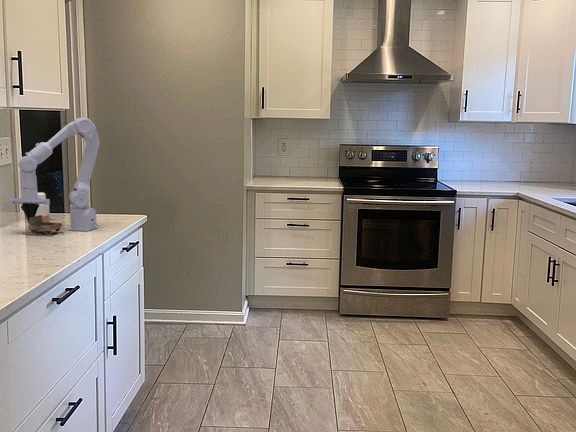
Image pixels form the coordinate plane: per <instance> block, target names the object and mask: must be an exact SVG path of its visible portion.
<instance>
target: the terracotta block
mask: <svg viewBox="0 0 576 432" xmlns="http://www.w3.org/2000/svg"><path fill="white" fill-rule="evenodd" d="M39 215H42V222H50V219H49V215H44V214H38V215H35V216H39Z"/></svg>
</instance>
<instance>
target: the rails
mask: <svg viewBox="0 0 576 432" xmlns="http://www.w3.org/2000/svg"><path fill="white" fill-rule="evenodd" d="M51 233H52V234H51ZM51 233H50V234H46V233H45V231H41V230H37V232H36V233H32V232H30V233H29V232H22V233H21V234H22V235H23V236H26V235H27V236H28V235H29V236H39V237H40V236H42V237H54V236H55V235H54V234H63V233H64V231H60V230H59V231H56V230H51Z"/></svg>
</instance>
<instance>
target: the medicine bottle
mask: <svg viewBox="0 0 576 432" xmlns="http://www.w3.org/2000/svg"><path fill="white" fill-rule="evenodd" d="M37 193H38V199H48V195H47V193H46V192H45V191H37ZM32 203H34V202H32ZM38 214H44V215H49V220H50V218H51V215H50V214H51V213H50V204H49V205H43V204H39V207H38V209H37V212H36V215H38Z"/></svg>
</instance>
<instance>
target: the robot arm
mask: <svg viewBox="0 0 576 432" xmlns="http://www.w3.org/2000/svg"><path fill="white" fill-rule="evenodd" d="M78 135H79V136H81V138H82V139H83V141H84V143H85V147H84V151H83V155H82V159H81V161H80V166H79V170H78V174H77V177H76V181H75V183H74V185H73V188H72V190H71V191H70V192H69V194H68V200H69V202H70V203H71V204H70V205H69V217H70V227H68V228H66V229H65V230H66V231H79V232H81V231H82V232H88V231H91V230H94V229H98V227H99V226H97V211H96V209H95V208H93V207H90V205H89V203H90V196H89V194H90V193H89V192H90V181H91V178H92V175H93V171H94V167H95V164H96V163H95V162H96V159H97V155H98V152H99V147H100V143H101V140H100V137H99V135H98V131H97V127H96V125H95V124H94V122H93V121H92V120H91V119H90V118H87V117H78V118H77V117H76V119H74V120H73V121H71V122H69V123H68V124H66V125H65V126H64V127H62V128H61V129H60V130H59V131H58V132H57V133H56V134H55V135H54V136H52V137H51V138H50V139H48V141H47V142H43V141H42V142H41V141H40V143H39V142H37V143H36V144H35V147H34V148H33V149H31V150H30V151H29V152H28V151H27V152H25V156H22V157H20V158H19V160H18V163H17V166H18V168H19V169H20V170H19V182H20V196H21V198H10V199H9V204H10V205H21V206H20V208H21V210H22V211H23V213H24V215H25V216H26V220H27V223H28V224H29V218H31V217H35V215H36V212H37V209H38V207H39V204H43V205H49V206H50V205H51V201H50V198H47V199H38V193H37V192H38V180H37V179H38V178H37V175H36V169H37V167H38V165H41V164H42V163H43V162H44V161H45V160H47V158H49V157H50V156H51V155H53V150H54V148H56V147H57V146H58V145H59V144H61V143H62V142H64V141H65V140H66V139H68V138H69V137H71V136H78ZM33 202H34V203H33Z"/></svg>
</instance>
